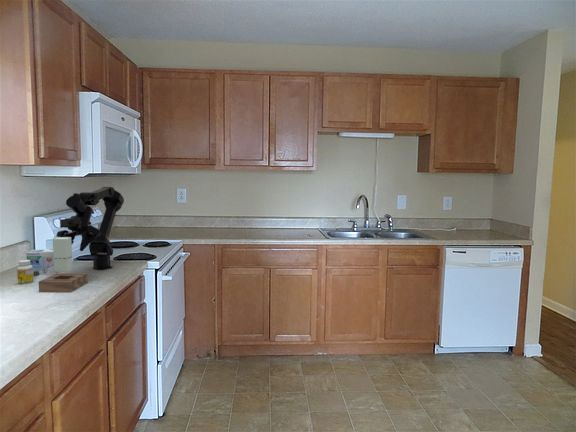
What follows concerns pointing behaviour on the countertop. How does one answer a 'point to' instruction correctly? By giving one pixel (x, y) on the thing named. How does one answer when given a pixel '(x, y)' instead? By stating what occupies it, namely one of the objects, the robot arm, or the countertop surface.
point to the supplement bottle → (25, 272)
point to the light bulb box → (41, 261)
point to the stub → (62, 254)
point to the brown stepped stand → (63, 282)
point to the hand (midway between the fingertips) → (72, 252)
